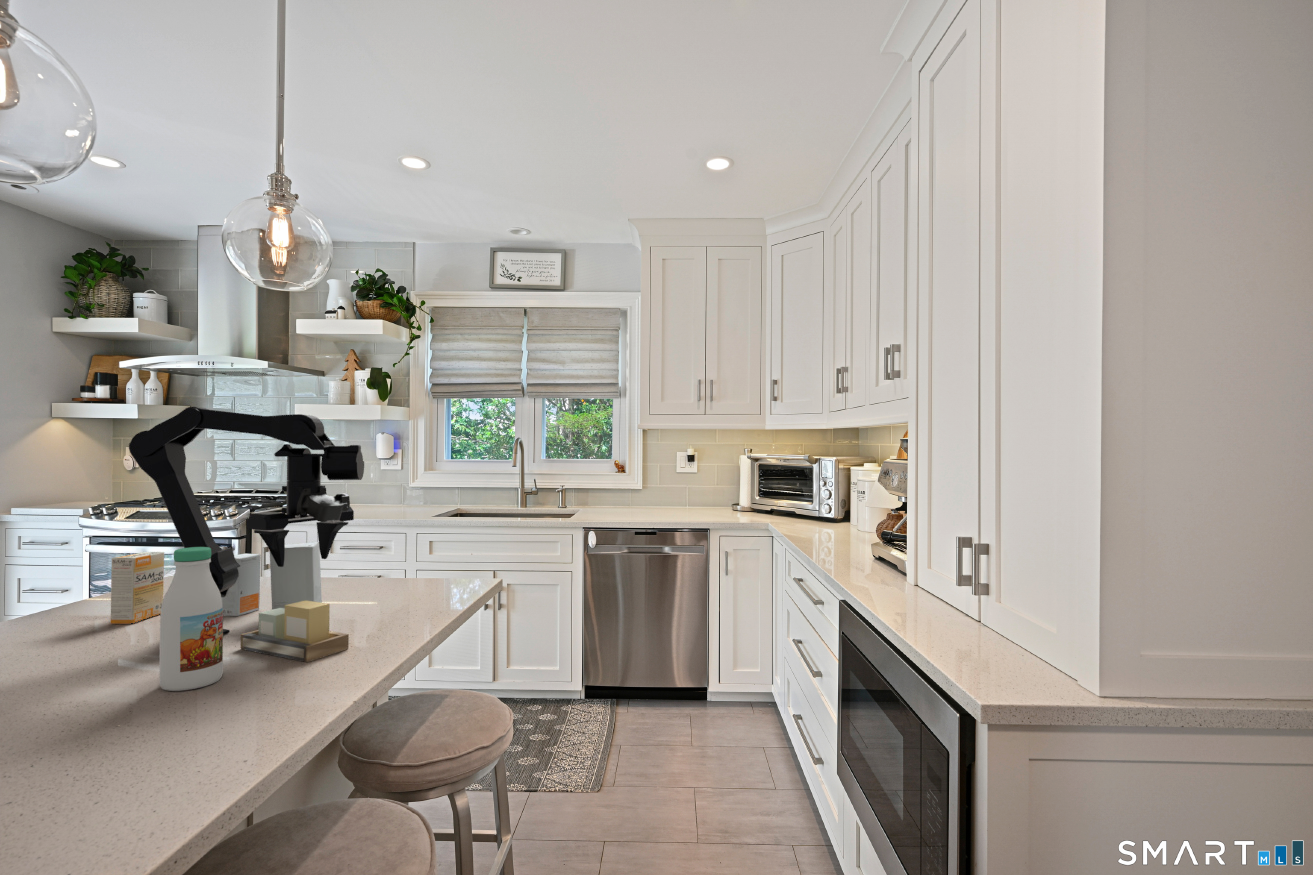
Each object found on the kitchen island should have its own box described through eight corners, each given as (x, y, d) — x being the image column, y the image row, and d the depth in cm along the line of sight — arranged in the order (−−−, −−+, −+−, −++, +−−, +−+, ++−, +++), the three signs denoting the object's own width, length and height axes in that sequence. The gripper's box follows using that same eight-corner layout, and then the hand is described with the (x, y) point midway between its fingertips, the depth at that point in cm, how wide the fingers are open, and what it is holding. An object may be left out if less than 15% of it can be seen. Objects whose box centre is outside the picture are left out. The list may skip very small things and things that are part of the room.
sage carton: (258, 647, 117) (258, 612, 117) (279, 640, 121) (280, 607, 121) (274, 650, 115) (275, 615, 115) (296, 644, 119) (296, 610, 119)
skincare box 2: (322, 611, 142) (322, 541, 142) (314, 618, 136) (314, 545, 136) (278, 613, 140) (279, 542, 140) (268, 621, 134) (269, 546, 134)
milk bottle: (154, 696, 94) (155, 554, 94) (164, 678, 101) (166, 546, 101) (219, 686, 98) (220, 550, 98) (225, 670, 105) (226, 543, 105)
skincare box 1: (237, 616, 137) (238, 558, 137) (220, 615, 138) (220, 557, 138) (261, 609, 143) (261, 553, 143) (243, 608, 144) (244, 553, 144)
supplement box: (133, 624, 131) (134, 557, 131) (109, 624, 131) (110, 557, 131) (165, 613, 140) (165, 551, 140) (142, 613, 140) (142, 550, 140)
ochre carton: (308, 656, 112) (308, 609, 112) (283, 652, 114) (284, 605, 114) (329, 649, 116) (329, 603, 116) (305, 645, 118) (305, 600, 118)
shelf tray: (239, 648, 116) (239, 634, 116) (283, 636, 123) (283, 623, 123) (306, 662, 109) (306, 647, 109) (348, 648, 116) (348, 634, 116)
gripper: (287, 484, 115) (286, 574, 115) (374, 479, 132) (373, 558, 132) (245, 482, 120) (244, 569, 120) (334, 477, 137) (333, 554, 137)
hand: (303, 562), depth 127 cm, fingers open, 9 cm apart
